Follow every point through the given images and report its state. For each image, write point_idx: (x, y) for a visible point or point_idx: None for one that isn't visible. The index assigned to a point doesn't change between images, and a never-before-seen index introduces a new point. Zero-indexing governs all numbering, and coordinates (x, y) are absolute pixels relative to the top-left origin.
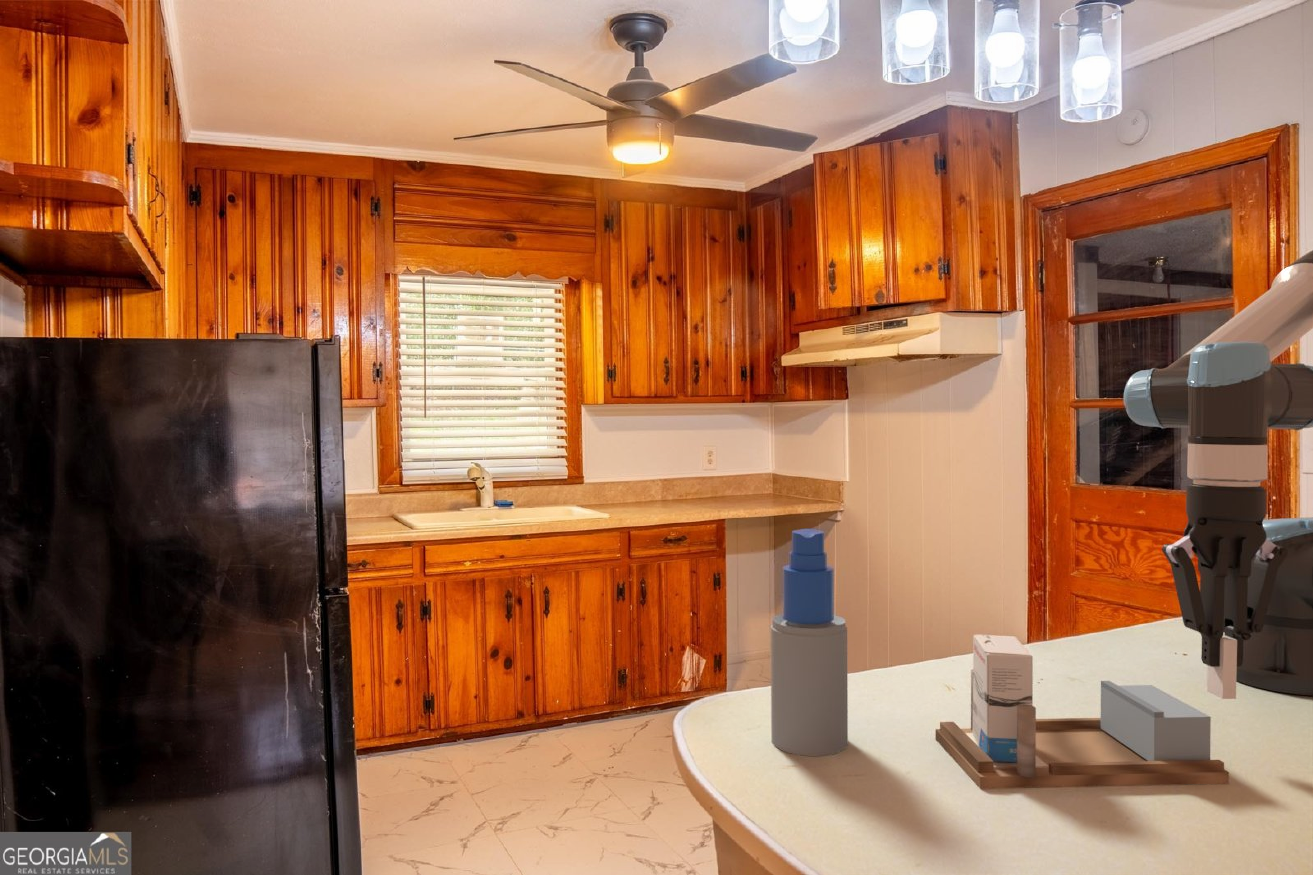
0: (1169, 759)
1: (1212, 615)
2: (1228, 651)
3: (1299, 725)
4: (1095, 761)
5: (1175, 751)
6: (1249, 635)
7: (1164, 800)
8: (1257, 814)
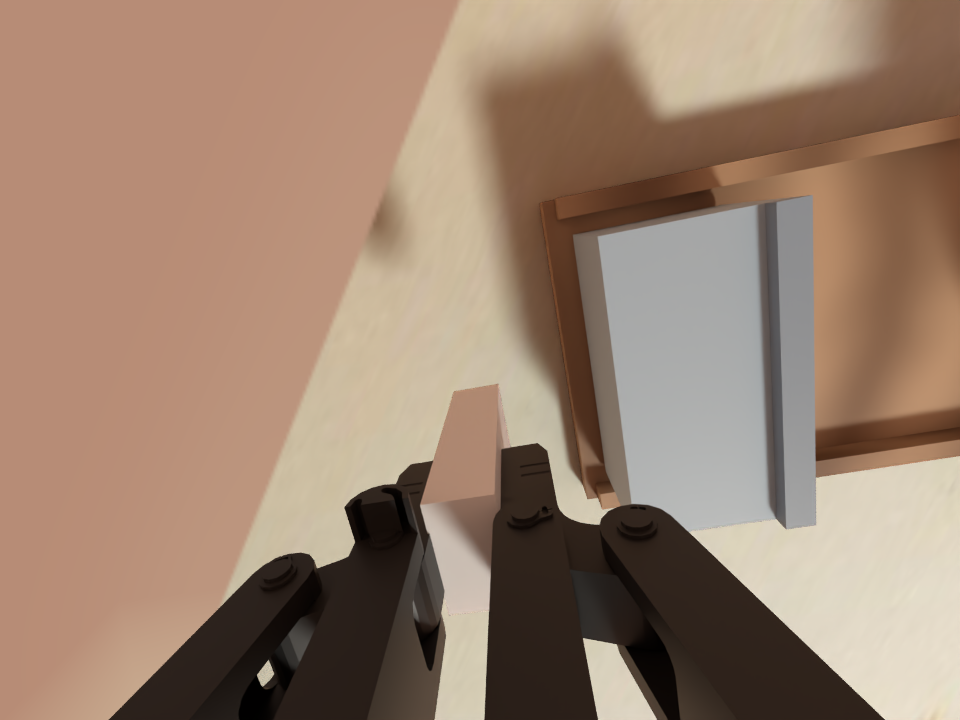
0: (685, 212)
1: (575, 603)
2: (470, 466)
3: (239, 577)
4: (853, 227)
5: (676, 215)
6: (354, 509)
7: (743, 67)
8: (556, 11)
